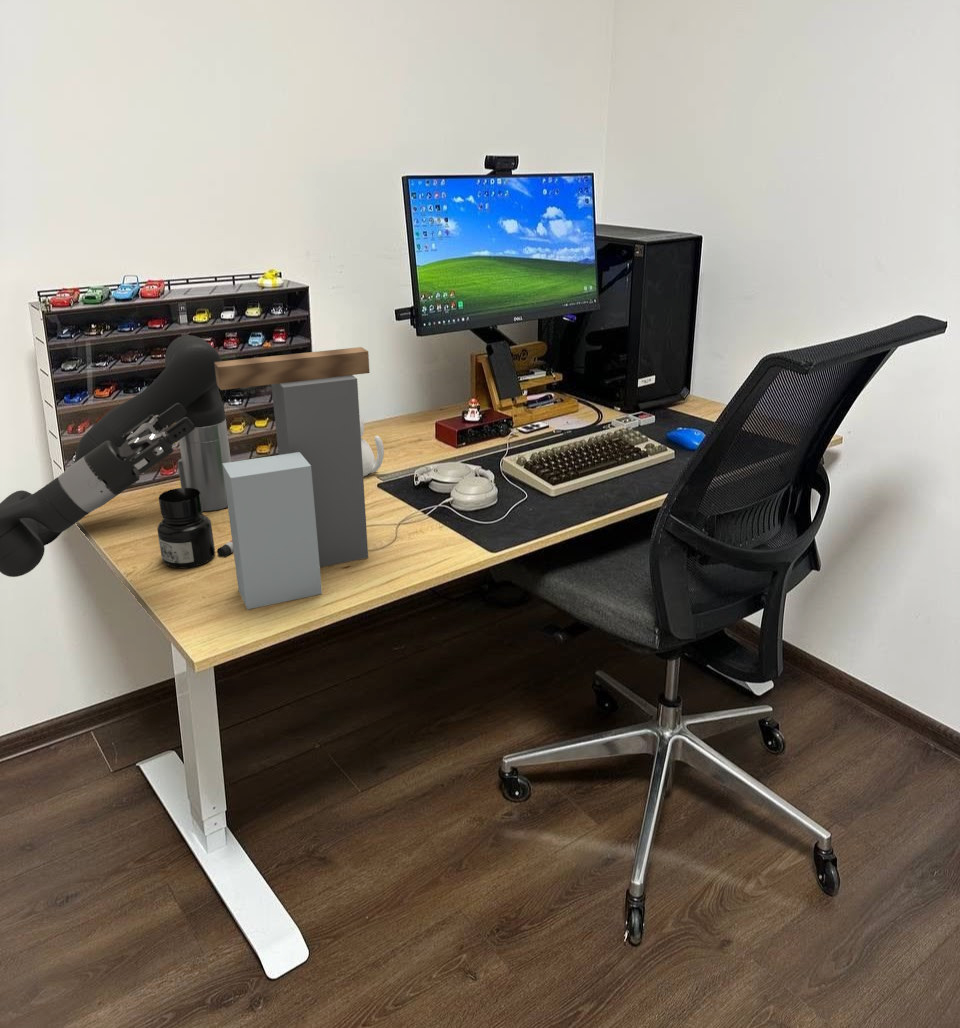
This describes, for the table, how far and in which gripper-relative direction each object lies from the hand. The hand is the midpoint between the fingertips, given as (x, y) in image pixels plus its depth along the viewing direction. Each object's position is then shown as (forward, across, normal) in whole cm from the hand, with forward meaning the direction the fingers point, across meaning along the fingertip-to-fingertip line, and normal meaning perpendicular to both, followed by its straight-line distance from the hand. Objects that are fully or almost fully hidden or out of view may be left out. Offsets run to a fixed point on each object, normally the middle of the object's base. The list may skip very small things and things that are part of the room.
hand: (187, 414), depth 138 cm
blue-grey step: (-6, +10, -29) cm, 32 cm away
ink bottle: (-16, -9, -24) cm, 30 cm away
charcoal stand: (+4, 0, -35) cm, 35 cm away
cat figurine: (+18, -37, -43) cm, 60 cm away
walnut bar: (+17, 0, -5) cm, 18 cm away
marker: (-6, -12, -30) cm, 33 cm away
